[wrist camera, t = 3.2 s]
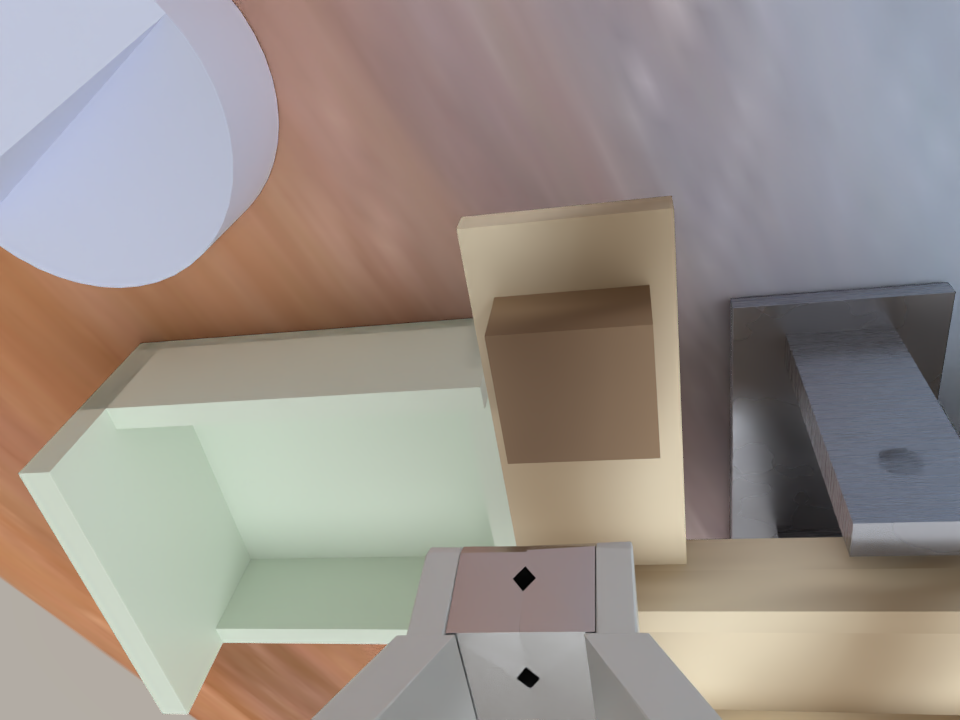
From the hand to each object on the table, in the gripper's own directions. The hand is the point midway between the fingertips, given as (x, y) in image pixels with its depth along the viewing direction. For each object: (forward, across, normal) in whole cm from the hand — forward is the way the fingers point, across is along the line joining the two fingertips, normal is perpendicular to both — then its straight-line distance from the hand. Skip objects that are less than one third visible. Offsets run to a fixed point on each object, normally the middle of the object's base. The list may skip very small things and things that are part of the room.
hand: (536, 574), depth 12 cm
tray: (+14, +9, +9) cm, 19 cm away
